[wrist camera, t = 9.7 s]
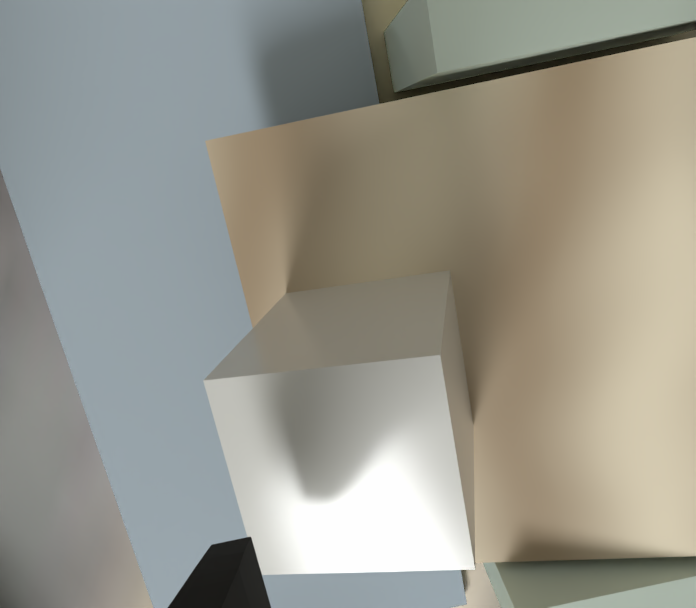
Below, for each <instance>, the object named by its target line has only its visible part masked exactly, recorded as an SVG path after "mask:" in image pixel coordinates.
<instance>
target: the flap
mask: <svg viewBox="0 0 696 608" xmlns="http://www.w3.org/2000/svg"><path fill="white" fill-rule="evenodd" d="M205 143H206V147H207V151H208V155H209V159H210V162H211V166H212V170H213V174H214V178H215V182H216V186H217V190H218V194H219V198H220V202H221V206H222V210H223V214H224V217H225V221H226V225H227V229H228V233H229V237H230V241H231V245H232V249H233V253H234V257H235V261H236V265H237V269H238V272H239V276H240V280H241V284H242V288H243V292H244V296H245V300H246V304H247V308H248V312H249V316H250V320H251V324H252V327H254V326H255V325H256V324H257V323H258V322H259V321H260V320H261V319H262V318H263V317H264V316H265V315H266V314H267V313H268V312H269V311H270V310H271V308H272V307H273V306H274V305H275V304H276V303H277V302H278V301H279V300H280V299H281V298H282V297H283V296H284V295H285V294H286V293H291V292H298V291H305V290H312V289H320V288H327V287H334V286H341V285H348V284H355V283H363V282H370V281H377V280H384V279H391V278H398V277H406V276H413V275H420V274H427V273H434V272H441V271H448V270H450V273H451V280H452V287H453V293H454V300H455V306H456V313H457V319H458V326H459V333H460V339H461V346H462V352H463V359H464V366H465V372H466V379H467V385H468V392H469V399H470V405H471V412H472V418H473V425H474V510H475V563H490V562H523V561H555V560H588V559H621V558H653V557H686V556H696V37H693V38H688V39H684V40H679V41H674V42H670V43H665V44H660V45H655V46H651V47H646V48H641V49H636V50H632V51H627V52H622V53H618V54H613V55H608V56H603V57H599V58H594V59H589V60H584V61H580V62H575V63H570V64H566V65H561V66H556V67H551V68H547V69H542V70H537V71H532V72H528V73H523V74H518V75H514V76H509V77H504V78H499V79H495V80H490V81H485V82H481V83H476V84H471V85H466V86H462V87H457V88H452V89H447V90H443V91H438V92H433V93H429V94H424V95H419V96H414V97H410V98H405V99H400V100H396V101H391V102H386V103H381V104H377V105H372V106H367V107H362V108H358V109H353V110H348V111H344V112H339V113H334V114H329V115H325V116H320V117H315V118H310V119H306V120H301V121H296V122H292V123H287V124H282V125H277V126H273V127H268V128H263V129H259V130H254V131H249V132H244V133H240V134H235V135H230V136H225V137H221V138H216V139H211V140H207V141H205Z"/></svg>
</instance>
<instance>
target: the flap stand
mask: <svg viewBox="0 0 696 608" xmlns="http://www.w3.org/2000/svg"><path fill="white" fill-rule="evenodd" d="M695 29H696V0H408V1H407V2H406V4H405V5H404V6H403V8H402V9H401V10H400V11H399V13H398V14H397V15H396V17H395V18H394V19H393V21H392V22H391V23H390V25H389V26H388V27H387V29H386V30H385V31H384V37H385V43H386V49H387V55H388V61H389V66H390V72H391V78H392V84H393V90H394V93H396V92H400V91H405V90H410V89H415V88H420V87H425V86H430V85H434V84H439V83H444V82H449V81H454V80H459V79H464V78H468V77H473V76H478V75H483V74H488V73H493V72H498V71H502V70H507V69H512V68H517V67H522V66H527V65H532V64H536V63H541V62H546V61H551V60H556V59H561V58H566V57H570V56H575V55H580V54H585V53H590V52H595V51H600V50H604V49H609V48H614V47H619V46H624V45H629V44H634V43H638V42H643V41H648V40H653V39H658V38H663V37H668V36H672V35H676V34H680V33H684V32H687V31H691V30H695ZM483 564H484V567H485V569H486V572H487V574H488V577H489V579H490V582H491V584H492V586H493V589H494V591H495V594H496V596H497V599H498V601H499V604H500V606H501V608H696V556H686V557H653V558H621V559H588V560H555V561H523V562H490V563H483Z"/></svg>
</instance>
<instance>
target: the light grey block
mask: <svg viewBox="0 0 696 608" xmlns="http://www.w3.org/2000/svg"><path fill="white" fill-rule="evenodd" d="M203 382H204V385H205V389H206V392H207V396H208V399H209V403H210V407H211V410H212V414H213V417H214V421H215V424H216V428H217V431H218V435H219V438H220V442H221V445H222V449H223V453H224V456H225V460H226V463H227V467H228V470H229V474H230V477H231V481H232V484H233V488H234V491H235V495H236V499H237V502H238V506H239V509H240V513H241V516H242V520H243V523H244V527H245V530H246V534H247V537H251V538H252V542H253V545H254V549H255V552H256V556H257V559H258V563H259V567H260V570H261V574H262V575H281V574H320V573H359V572H398V571H437V570H475V510H474V425H473V418H472V412H471V405H470V399H469V392H468V385H467V379H466V372H465V366H464V359H463V352H462V346H461V339H460V333H459V326H458V319H457V313H456V306H455V300H454V293H453V287H452V280H451V273H450V270H448V271H441V272H434V273H427V274H420V275H413V276H406V277H398V278H391V279H384V280H377V281H370V282H363V283H355V284H348V285H341V286H334V287H327V288H320V289H312V290H305V291H298V292H291V293H286V294H285V295H284V296H283V297H282V298H281V299H280V300H279V301H278V302H277V303H276V304H275V305H274V306H273V307H272V308H271V310H270V311H269V312H268V313H267V314H266V315H265V316H264V317H263V318H262V319H261V320H260V321H259V322H258V323H257V324H256V325H255V326H254V327H253V329H252V330H251V331H250V332H249V333H248V334H247V335H246V336H245V337H244V338H243V339H242V340H241V341H240V342H239V343H238V344H237V345H236V346H235V347H234V349H233V350H232V351H231V352H230V353H229V354H228V355H227V356H226V357H225V358H224V359H223V360H222V361H221V362H220V363H219V364H218V365H217V366H216V368H215V369H214V370H213V371H212V372H211V373H210V374H209V375H208V376H207V377H206V378H205V379H204V380H203Z"/></svg>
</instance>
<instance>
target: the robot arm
mask: <svg viewBox="0 0 696 608" xmlns="http://www.w3.org/2000/svg"><path fill="white" fill-rule="evenodd" d="M168 608H271V605H270V602H269V598H268V595H267V591H266V588H265V584H264V581H263V577H262V574H261V570H260V567H259V563H258V559H257V556H256V552H255V549H254V545H253V542H252V538H251V537H246V538H241V539H236V540H231V541H227V542H222V543H217V544H212V545H211V546H210V547H209V549H208V550H207V551H206V553H205V554H204V556H203V557H202V558H201V560H200V561H199V563H198V564H197V566H196V567H195V568H194V570H193V571H192V573H191V574H190V576H189V577H188V579H187V580H186V582H185V583H184V585H183V586H182V587H181V589H180V590H179V592H178V593H177V595H176V596H175V598H174V599H173V601H172V602H171V604H170V605H169V606H168Z"/></svg>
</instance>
